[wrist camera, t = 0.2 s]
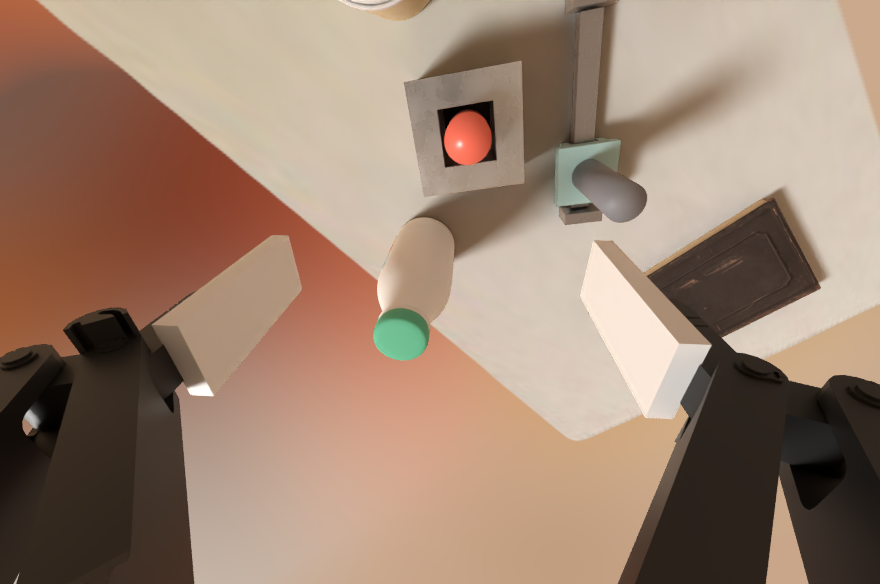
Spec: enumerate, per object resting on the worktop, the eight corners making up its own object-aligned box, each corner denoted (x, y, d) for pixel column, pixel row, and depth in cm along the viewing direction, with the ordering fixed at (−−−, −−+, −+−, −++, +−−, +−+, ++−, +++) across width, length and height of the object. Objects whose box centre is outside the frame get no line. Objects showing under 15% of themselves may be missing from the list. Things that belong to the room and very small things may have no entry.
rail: (565, -3, 31) (574, -11, 28) (611, -13, 30) (625, -21, 28) (559, 216, 41) (565, 224, 39) (593, 212, 41) (601, 220, 38)
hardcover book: (584, 304, 48) (588, 313, 46) (759, 193, 39) (774, 199, 37) (640, 366, 54) (647, 377, 52) (807, 281, 44) (822, 291, 42)
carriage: (552, 144, 37) (589, 170, 26) (609, 136, 36) (673, 158, 25) (551, 198, 40) (583, 242, 29) (604, 191, 39) (658, 234, 28)
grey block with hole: (414, 82, 35) (403, 82, 29) (512, 65, 34) (521, 60, 28) (430, 180, 40) (424, 196, 34) (515, 168, 39) (524, 183, 33)
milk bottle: (408, 205, 42) (368, 287, 25) (464, 230, 43) (462, 324, 26) (389, 256, 46) (343, 357, 29) (441, 277, 47) (426, 386, 30)
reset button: (445, 112, 33) (440, 117, 28) (486, 105, 32) (489, 109, 27) (450, 156, 35) (447, 168, 30) (489, 150, 34) (493, 161, 29)
